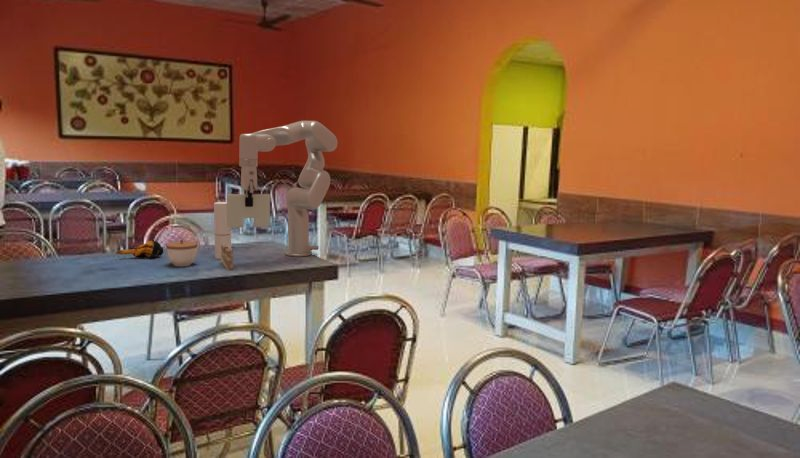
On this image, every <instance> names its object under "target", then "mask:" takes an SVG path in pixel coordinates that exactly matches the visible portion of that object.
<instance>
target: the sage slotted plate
mask: <svg viewBox="0 0 800 458" xmlns="http://www.w3.org/2000/svg"><path fill="white" fill-rule="evenodd" d="M245 197H246V194H244V193H242V194H241V193H240V194H238V193H237V194H235V193H234V194H233V193H231V194H229V193H228V194H226V202H227V228H231V229H233V228H234V229H235V228H236V229H237V228H244V219H253V227H254V228H268V227H271V226H270V225H271V219H270V218H271V216H270V215H271V212H270V211H271V194H270V193H253V207H246V206H245Z"/></svg>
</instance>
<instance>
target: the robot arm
mask: <svg viewBox="0 0 800 458" xmlns="http://www.w3.org/2000/svg"><path fill="white" fill-rule="evenodd" d="M303 140H305V143H304V144H305V148H306V151H307V160H306V163H305V164H304V167H303V168H302V171H301V172H300V174H299V176H298V179H297V182H298V185H299V186H300V187H293V188H292V187H291V189H289V190H287V192H286V195H285V202H286V207H287V217H288V218H287V220H288V221H287V223H288V224H287V226H288V227H287V228H288V229H287V236H288V237H287V238H288V240H287V244H288V245H287V246H288V247H287V248H288V249H287V250H286V251H285V252H284V254H285V256H288V257H297V258H298V257H300V258H301V257H309V256H311V255H312V254H313V252H312V251H317V250H319V245H311V244H310V243H309V236H310V235H309V234H310V233H309V231H310V230H309V228H310V226H309V225H310V224H309V222H310V221H309V220H310V218H309V214H308V213H309V212H308V211H307V210H310V211H311V210H312V211H314V210H316V209H318V208H319V207H320V206H321V204H322V202H323V201H324V198H325V197H326V194H327V192H328V190H329V188H330V185H331V176H330V174H329V172H328V171H326V170H325V169H324V167H325V166H326V165H325V157H324V155H323V152H325V153H326V152H329V153H330V152H334V151H335V150H336V149H337V148H338V138H337V137H336V135H335V134H334V133H333V132H332V131H331V130H329V128H327V127H326V126H324V124H322V123H321V122H319V121H317V120H299V121H296V122H292V123H289V124H284V125H282V126H277V127H271V128H267V129H262V130H258V131H254V132H251V133H241V134H240V135H239V140H238V141H239V146H238V147H239V153H238V154H239V157H238V158H239V160H238V161H239V163H238V166H239V167H241V168H240V169H241V170H240V171H241V173H240V175H241V176H240V185H241V186H240V187H241V189H243V194H246V197H245V206H246V207H253V194H254V191H257V190H258V173H257V168H258V164H259V163H258V162H259V161H258V156H259V154H258V152H263V153H264V152H271V151H273V150H274V149H275V147H277V146H286V145H291V144H293V143H297V142H300V141H303Z"/></svg>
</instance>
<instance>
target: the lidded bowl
mask: <svg viewBox="0 0 800 458" xmlns="http://www.w3.org/2000/svg"><path fill="white" fill-rule="evenodd" d="M179 240H180V241H173V242H172V241H171V242H168V243H166V245H165V247H166V255H167V259H168V260H169V262H170V263H171V264H173V267H189V266H191V265H192V264H193V263H194V262H195V260H196V258H197V255H198V243H197V242H195V241H189V240H187V241H184V239H182V238H181V239H179Z"/></svg>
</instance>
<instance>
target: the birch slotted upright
mask: <svg viewBox="0 0 800 458" xmlns="http://www.w3.org/2000/svg"><path fill="white" fill-rule="evenodd" d="M220 260H221V261H220V262H221V264H222V265H223V266H224V267H225V269H227V270H228V271H230V270H234V253H233V250H232V248H231V249H228V246H227V245H221V259H220Z"/></svg>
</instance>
